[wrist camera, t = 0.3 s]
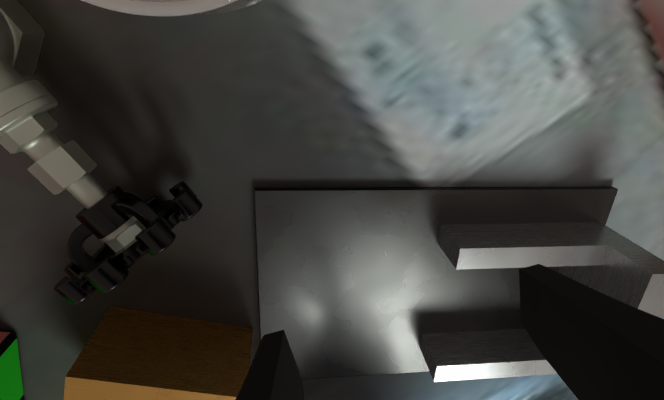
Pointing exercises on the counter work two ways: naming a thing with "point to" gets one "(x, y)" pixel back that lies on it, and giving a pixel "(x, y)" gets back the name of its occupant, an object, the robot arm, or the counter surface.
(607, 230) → the grey piece
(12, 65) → the valve
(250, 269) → the counter surface
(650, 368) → the robot arm
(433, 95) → the counter surface
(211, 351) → the wooden drawer block
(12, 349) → the puzzle cube
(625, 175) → the counter surface
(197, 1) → the white cup
